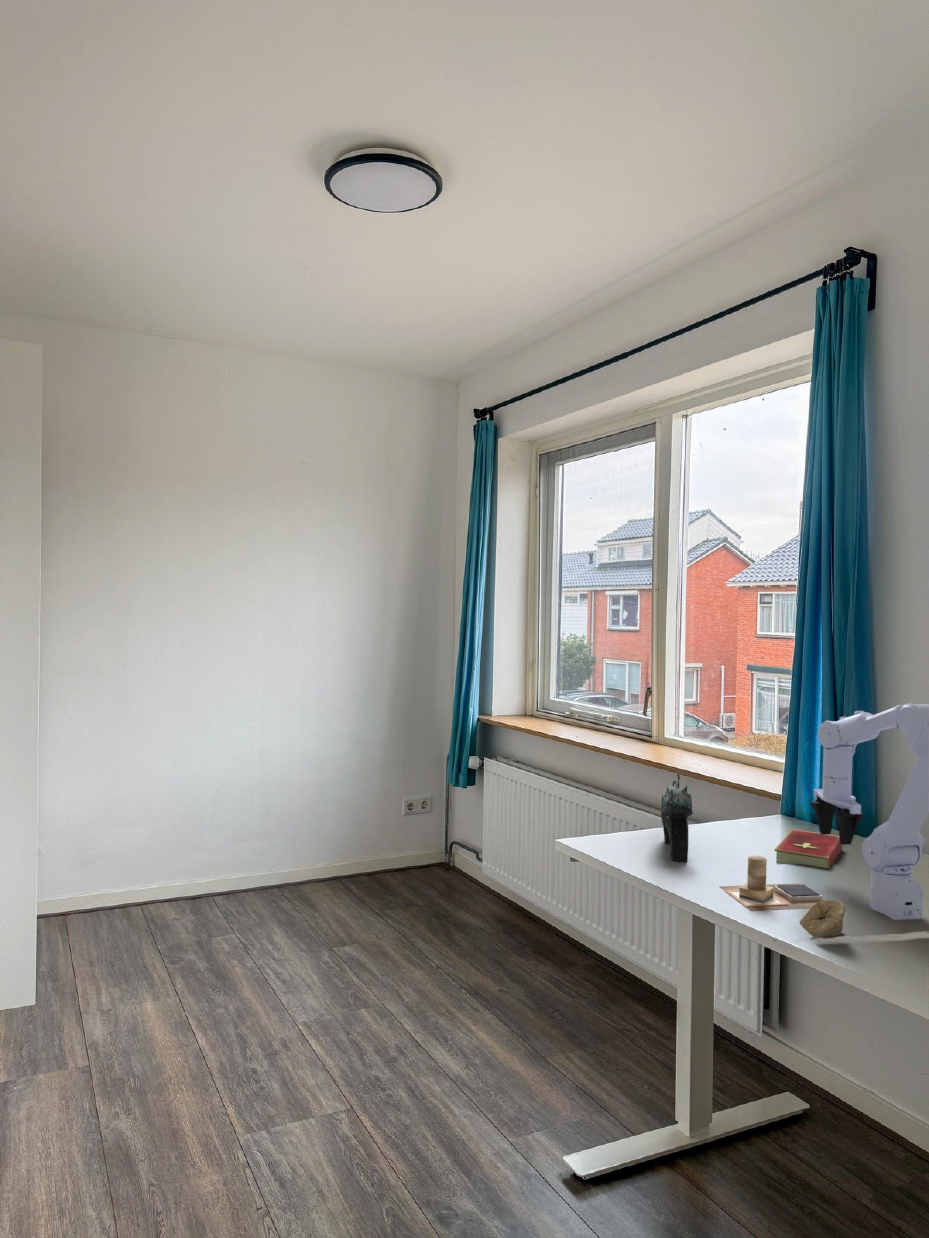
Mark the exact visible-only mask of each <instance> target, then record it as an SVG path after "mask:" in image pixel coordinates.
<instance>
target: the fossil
mask: <svg viewBox="0 0 929 1238" xmlns="http://www.w3.org/2000/svg"><path fill="white" fill-rule="evenodd" d="M845 912H846V906H845V904H844V903H843V902H842V901H841V900H839V899H837V900H836V899H835V900H834V899H832V900H829V899H823V900H822V901H819V902H818V903H816V904H815V905H813V906H812V908H809V910H808V911H807V913H806V914H805V915H804V916H803V917H802V918H801V919H800V920H799V924H800V926H801V927H802V928H803V929H804V930H805V931H806V932H807V933H808V934H809V935H810V936H811V937H810V938H812V939H827V938H832V939H834V938H835V937H836V936H840V935H841V934H842V933H843V927H844V917H845Z"/></svg>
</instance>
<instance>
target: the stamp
mask: <svg viewBox="0 0 929 1238" xmlns="http://www.w3.org/2000/svg"><path fill="white" fill-rule="evenodd" d="M767 860H768V859H767V858H766V857H764V856H762V855H761V856H760V855H750V856H748V857H747V882H746V884H743V885H740V886H741V887H740V888H739V897H740V898H744V899H748V900H752V901H755V902H759V903H765V902H766V901H768V900H770V899H771V898H773V889H774V888H773V887H769V886H766V885H767V862H768V861H767Z"/></svg>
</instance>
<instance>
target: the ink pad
mask: <svg viewBox="0 0 929 1238" xmlns="http://www.w3.org/2000/svg"><path fill="white" fill-rule="evenodd" d="M798 884H799V885H776V886H774V891H775V892H777V893H778V894H780V895H781V896H783V897H784V898H786V899H787V900H789V901H790V902H809V901H822V900H824V895H823V894H821V893H819V892H817V891H816V890H814V889H812V888H811V887H809V886H807V884H804V883H803V884H801V883H798Z"/></svg>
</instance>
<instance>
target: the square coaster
mask: <svg viewBox="0 0 929 1238" xmlns="http://www.w3.org/2000/svg"><path fill="white" fill-rule="evenodd" d="M724 892H725V893H726V892H727V894H728V895H729V896H730V895H731V896H730V897H732V898H733V899H734V898H735V899H734V900H735V901H737V902H738V901H739V902H738V903H739V904H741V905H742V906H743V905H744V907H745V908H746V907H759V906H782V905H788V904H787V903H786V902H784V901H783V900H781V899H780V898H778V897H777V896H775V895H774V894H773V898H771V899H770V900H768V901H766V902H765V903H759V902H755V901H752V900H748V899H744V898H740V897H739V890H725V891H724Z"/></svg>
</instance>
